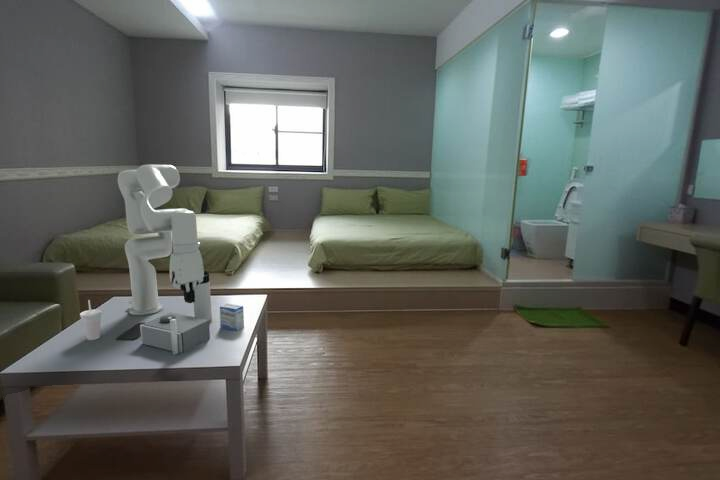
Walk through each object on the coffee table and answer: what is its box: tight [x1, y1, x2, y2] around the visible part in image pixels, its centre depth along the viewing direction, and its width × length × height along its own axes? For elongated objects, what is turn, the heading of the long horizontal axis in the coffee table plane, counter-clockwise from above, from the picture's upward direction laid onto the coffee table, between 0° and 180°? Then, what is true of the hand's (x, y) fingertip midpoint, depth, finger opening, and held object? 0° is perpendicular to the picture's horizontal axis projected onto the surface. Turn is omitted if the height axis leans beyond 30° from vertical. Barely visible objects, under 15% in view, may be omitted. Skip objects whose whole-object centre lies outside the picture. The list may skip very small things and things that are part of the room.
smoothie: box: [79, 299, 103, 341], centre depth 138 cm, size 6×6×14 cm
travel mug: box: [193, 270, 213, 324], centre depth 154 cm, size 6×7×20 cm
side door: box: [140, 319, 184, 355], centre depth 130 cm, size 18×3×12 cm, turn 69°
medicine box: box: [219, 303, 245, 331], centre depth 150 cm, size 8×4×9 cm, turn 70°
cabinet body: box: [143, 312, 211, 353], centre depth 138 cm, size 18×12×8 cm, turn 69°
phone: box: [115, 322, 145, 341], centre depth 145 cm, size 7×1×15 cm
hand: (189, 301), depth 131 cm, fingers closed
